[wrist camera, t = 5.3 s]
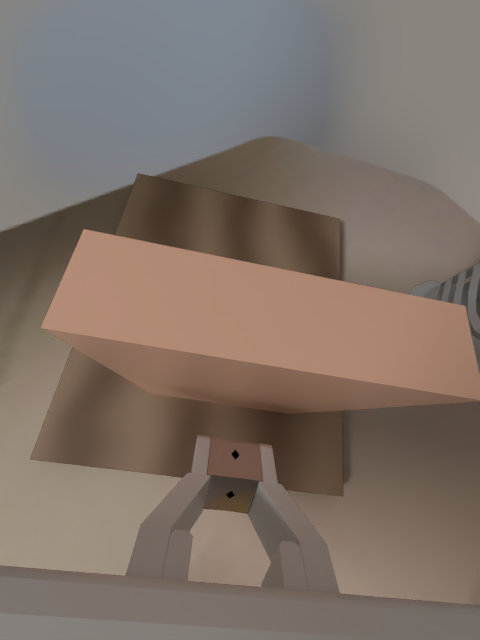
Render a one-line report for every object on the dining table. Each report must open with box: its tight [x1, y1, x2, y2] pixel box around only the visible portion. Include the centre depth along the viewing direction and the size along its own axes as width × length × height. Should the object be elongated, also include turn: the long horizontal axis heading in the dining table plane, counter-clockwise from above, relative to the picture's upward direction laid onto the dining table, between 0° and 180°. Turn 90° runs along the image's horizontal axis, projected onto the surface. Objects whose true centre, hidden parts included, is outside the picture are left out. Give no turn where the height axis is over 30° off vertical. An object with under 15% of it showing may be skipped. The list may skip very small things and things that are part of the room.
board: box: [30, 174, 343, 496], centre depth 22 cm, size 20×24×1 cm
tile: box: [41, 229, 480, 414], centre depth 13 cm, size 10×3×14 cm, turn 82°
